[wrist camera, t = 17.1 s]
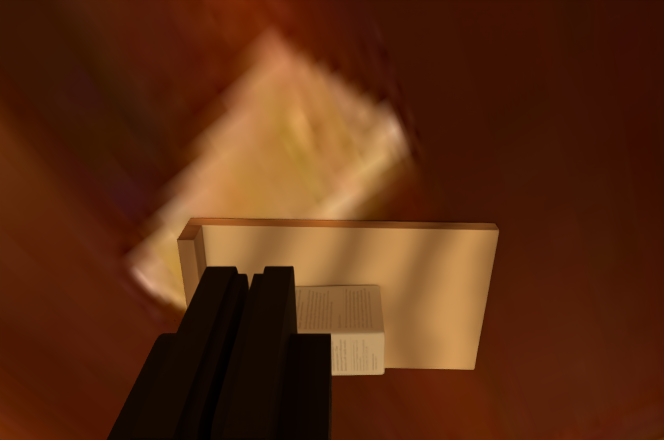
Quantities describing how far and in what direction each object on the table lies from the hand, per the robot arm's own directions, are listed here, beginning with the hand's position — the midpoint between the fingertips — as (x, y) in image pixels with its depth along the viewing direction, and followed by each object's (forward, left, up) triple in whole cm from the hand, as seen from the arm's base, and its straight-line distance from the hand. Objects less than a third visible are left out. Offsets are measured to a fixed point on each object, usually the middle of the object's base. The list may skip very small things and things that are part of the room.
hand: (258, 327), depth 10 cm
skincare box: (-5, +18, -23) cm, 30 cm away
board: (-2, +18, -27) cm, 33 cm away
